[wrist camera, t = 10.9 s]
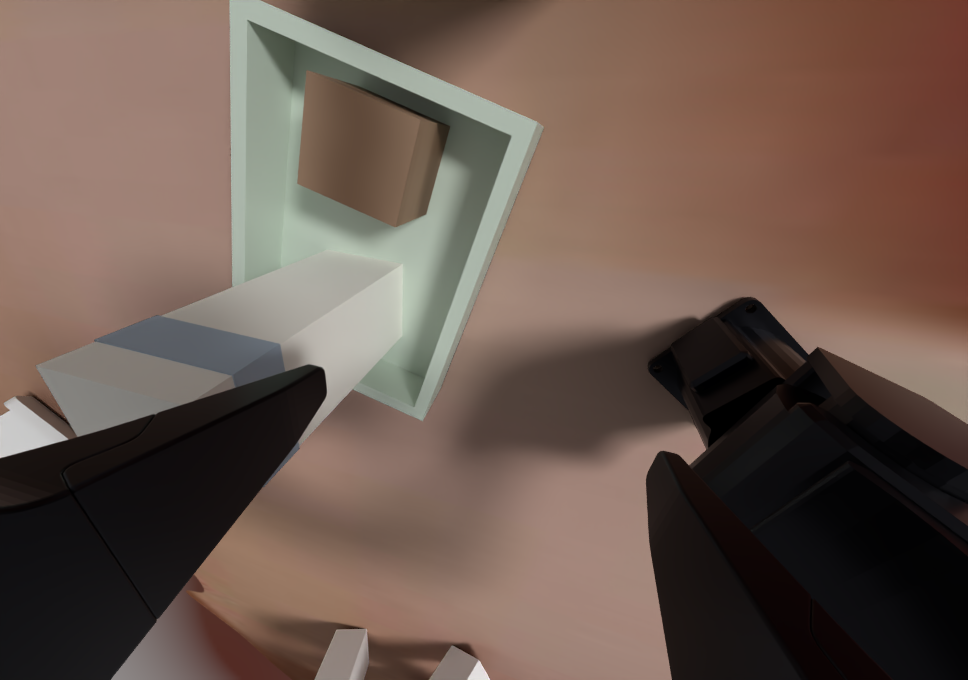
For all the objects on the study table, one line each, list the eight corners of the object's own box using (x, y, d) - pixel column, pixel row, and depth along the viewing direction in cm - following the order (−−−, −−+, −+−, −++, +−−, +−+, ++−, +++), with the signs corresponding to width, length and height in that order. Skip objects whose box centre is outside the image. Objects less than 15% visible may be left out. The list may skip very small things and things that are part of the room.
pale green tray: (544, 127, 17) (537, 122, 14) (440, 390, 26) (422, 421, 23) (289, 15, 17) (229, -14, 14) (271, 314, 26) (232, 335, 23)
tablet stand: (170, 559, 52) (11, 719, 37) (10, 441, 46) (-256, 578, 31) (225, 529, 44) (51, 718, 29) (40, 382, 38) (-298, 528, 23)
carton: (403, 263, 22) (186, 405, 9) (402, 336, 24) (230, 523, 12) (326, 248, 22) (32, 363, 10) (333, 321, 25) (104, 483, 13)
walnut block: (450, 126, 18) (420, 120, 14) (426, 214, 20) (395, 227, 16) (358, 85, 18) (306, 69, 14) (345, 178, 20) (297, 183, 17)
